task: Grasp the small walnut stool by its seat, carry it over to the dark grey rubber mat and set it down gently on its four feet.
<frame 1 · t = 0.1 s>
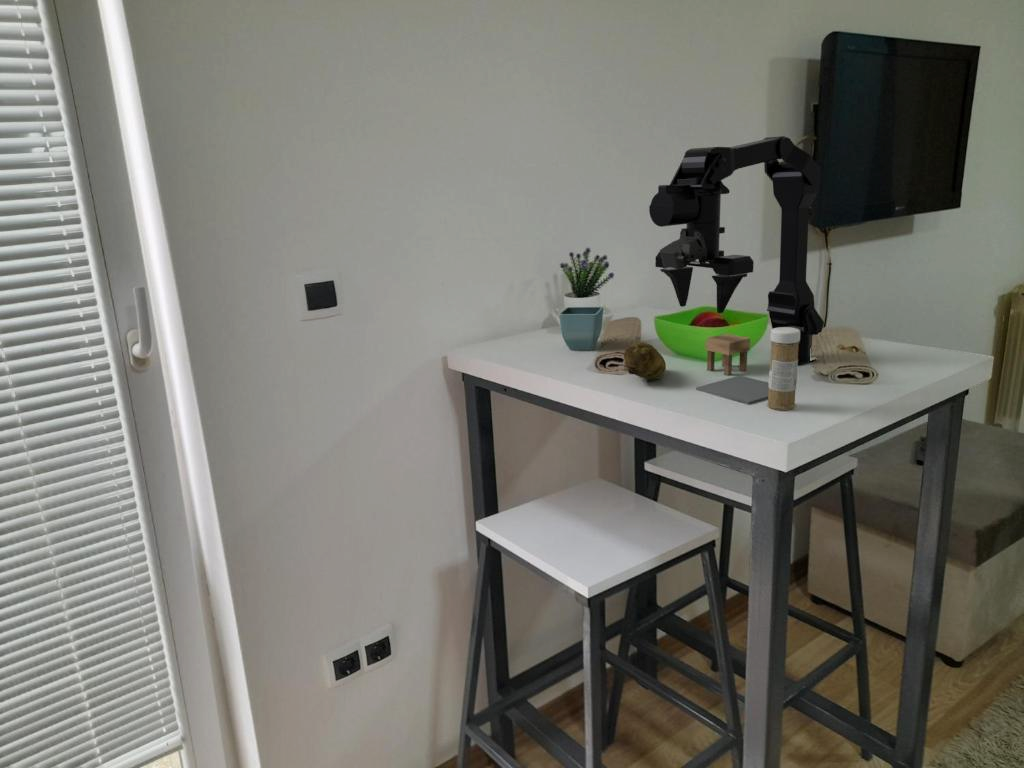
hand: (701, 309, 134), 15 cm above the table, tool pointing down, fingers open, 9 cm apart
spice jar: (781, 408, 125), on the table
stool: (726, 370, 148), on the table
flower pot: (582, 349, 172), on the table
potato: (646, 380, 144), on the table
mat: (743, 390, 135), on the table
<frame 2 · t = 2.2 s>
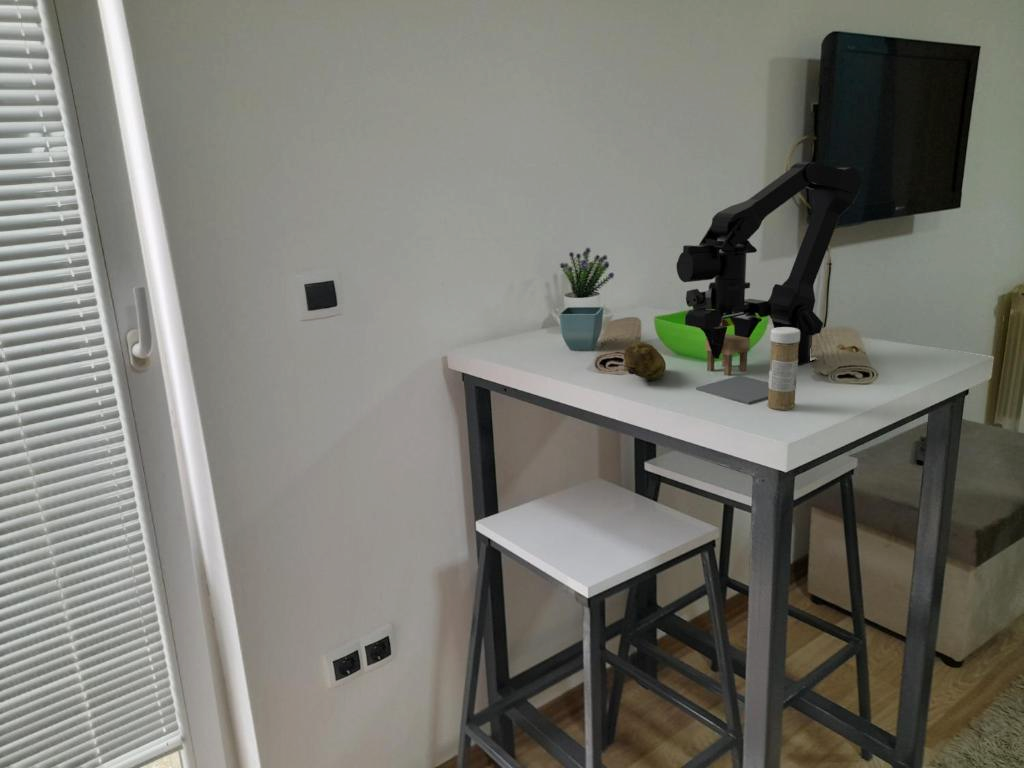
hand: (727, 355, 147), 3 cm above the table, tool pointing down, fingers closed on stool, 6 cm apart
stool: (726, 370, 148), on the table, touching gripper
everything else where it was.
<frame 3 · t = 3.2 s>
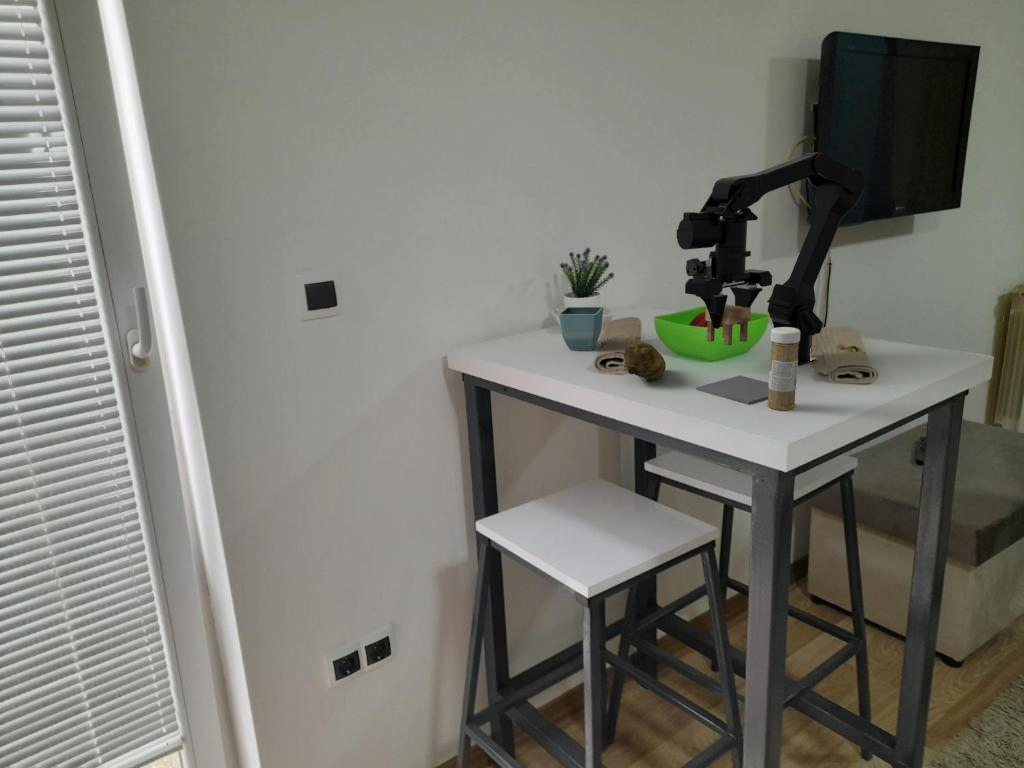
hand: (727, 326, 145), 9 cm above the table, tool pointing down, fingers closed on stool, 6 cm apart
stool: (726, 341, 146), point 6 cm above the table, touching gripper
everything else where it was.
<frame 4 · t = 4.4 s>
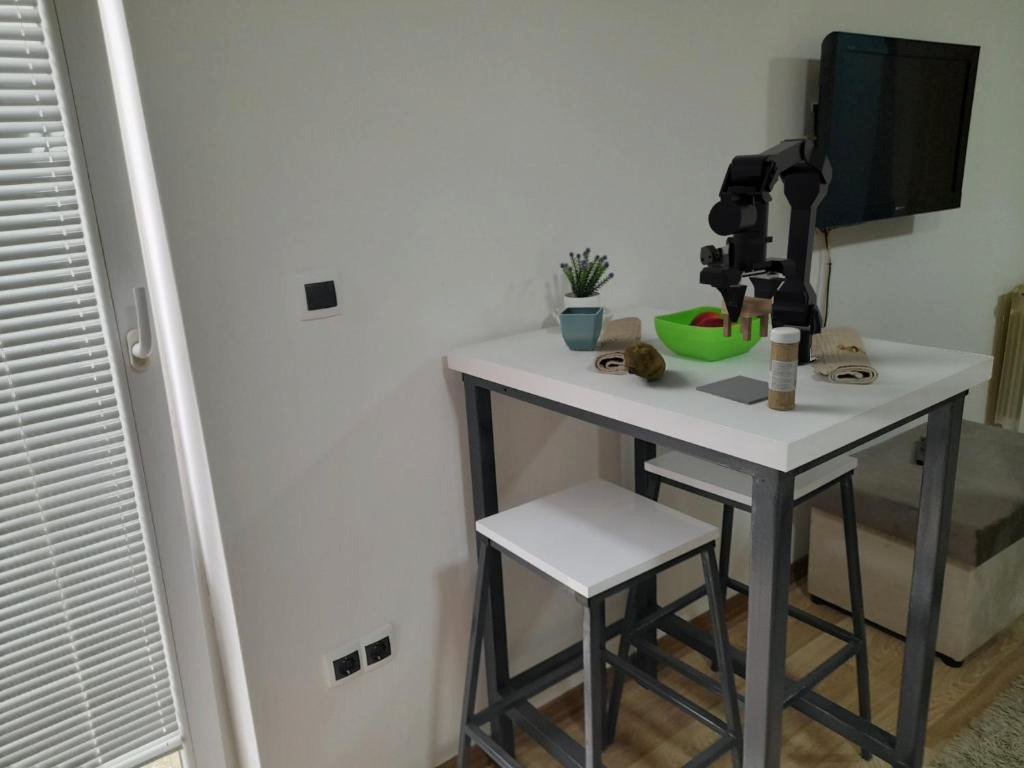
hand: (746, 320, 131), 13 cm above the table, tool pointing down, fingers closed on stool, 6 cm apart
stool: (745, 336, 132), point 10 cm above the table, touching gripper
everything else where it was.
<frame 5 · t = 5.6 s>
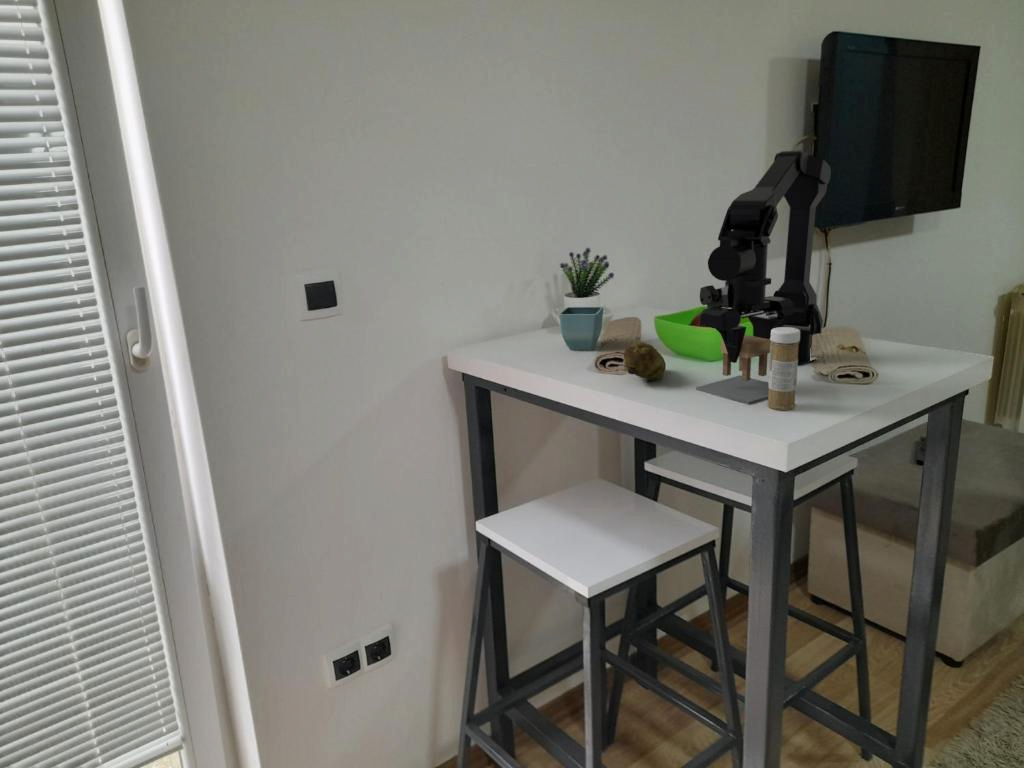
hand: (745, 359, 133), 6 cm above the table, tool pointing down, fingers closed on stool, 6 cm apart
stool: (744, 375, 134), point 3 cm above the table, touching gripper
everything else where it was.
when the fingers open (4 cm above the table, at t = 6.5 s): stool stays where it is, resting on mat.
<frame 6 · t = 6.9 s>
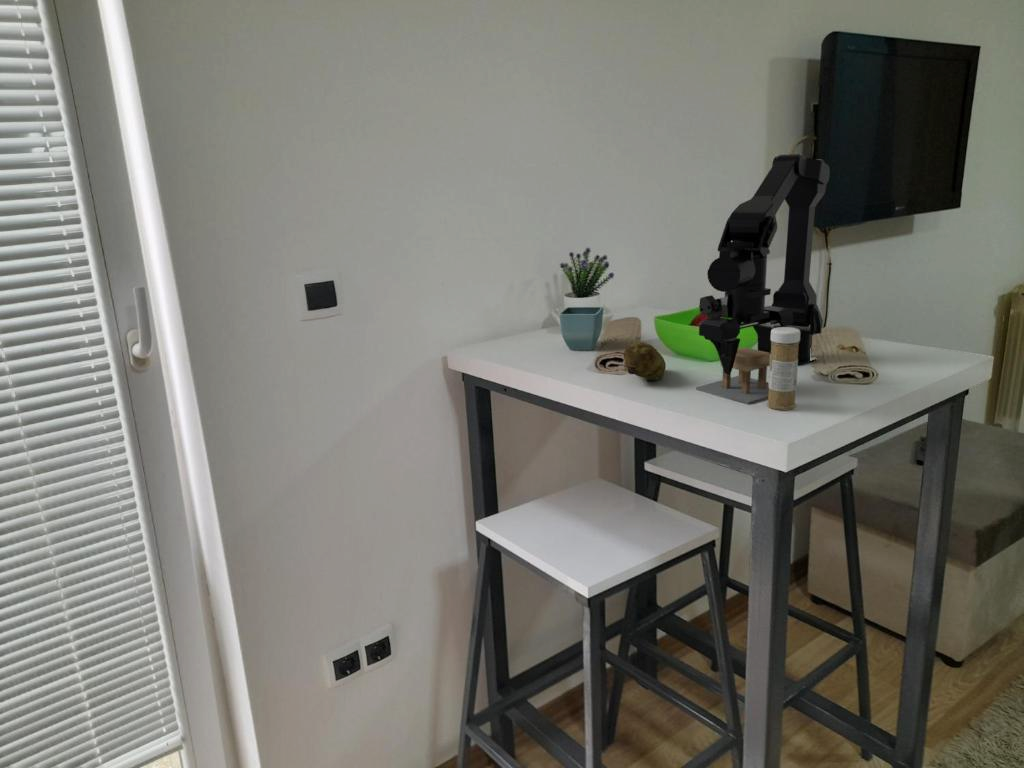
hand: (744, 368, 134), 4 cm above the table, tool pointing down, fingers open, 9 cm apart
stool: (743, 387, 135), resting on mat
everything else where it was.
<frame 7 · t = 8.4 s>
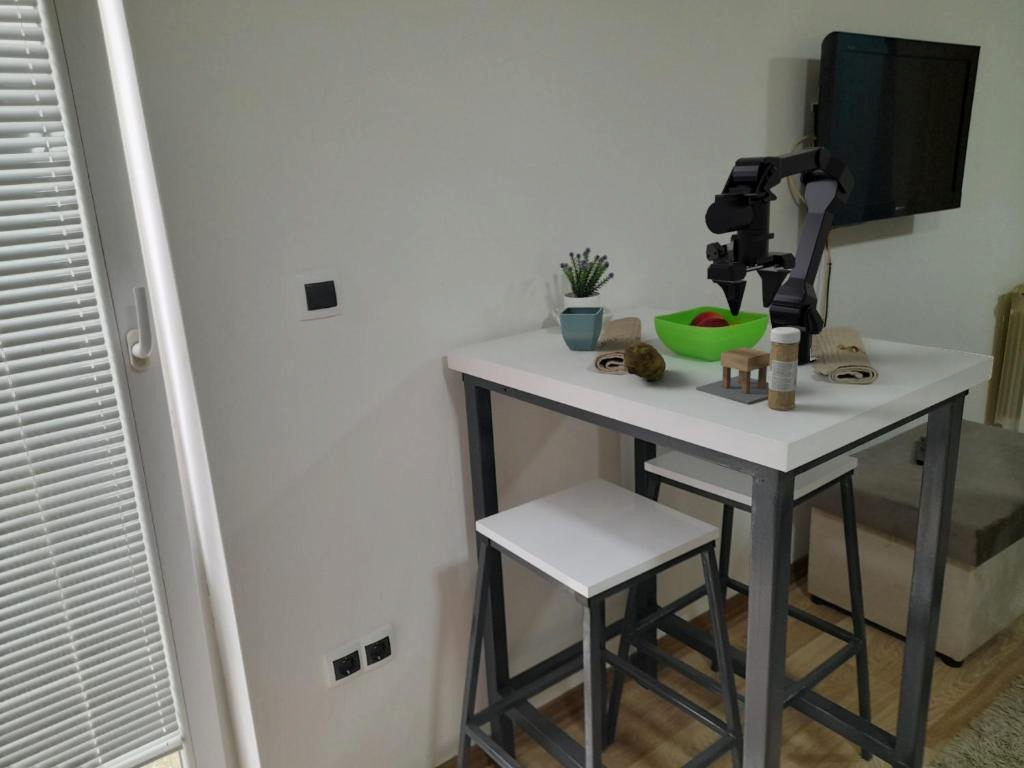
hand: (750, 311, 140), 13 cm above the table, tool pointing down, fingers open, 9 cm apart
nothing on the table moved.
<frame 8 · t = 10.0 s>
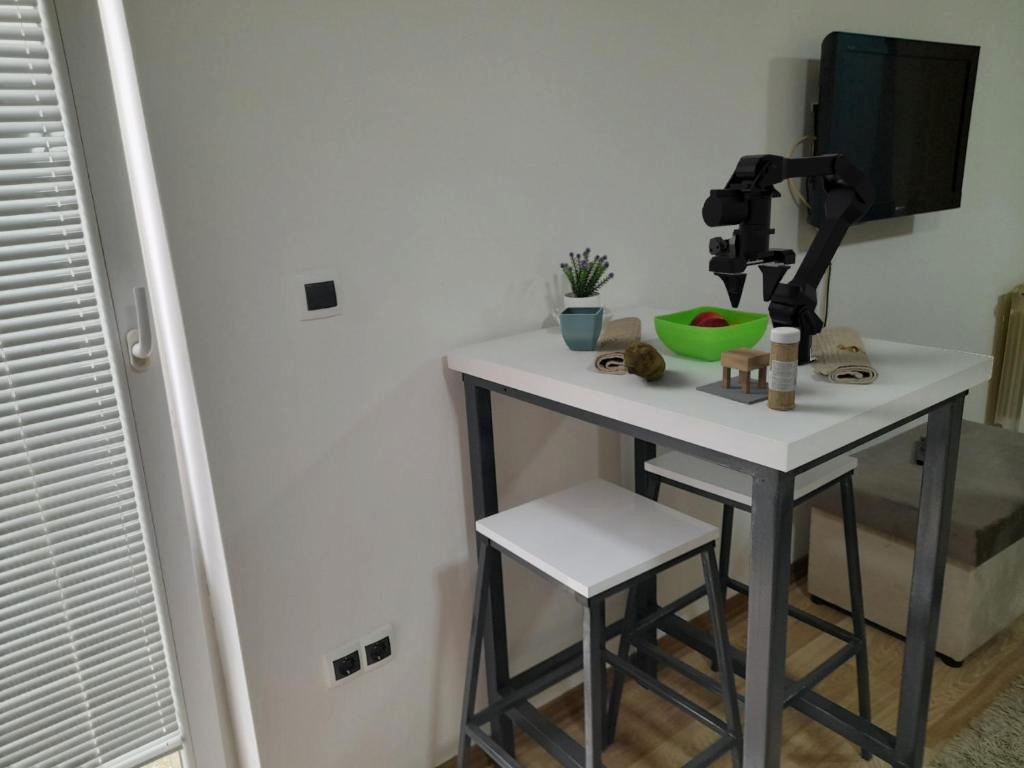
hand: (750, 304, 145), 13 cm above the table, tool pointing down, fingers open, 9 cm apart
nothing on the table moved.
at the end: stool inside the target area on the mat (0.1 cm from its centre), point 0.4 cm above the mat's base; stool tilted 0°; the gripper is holding nothing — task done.
